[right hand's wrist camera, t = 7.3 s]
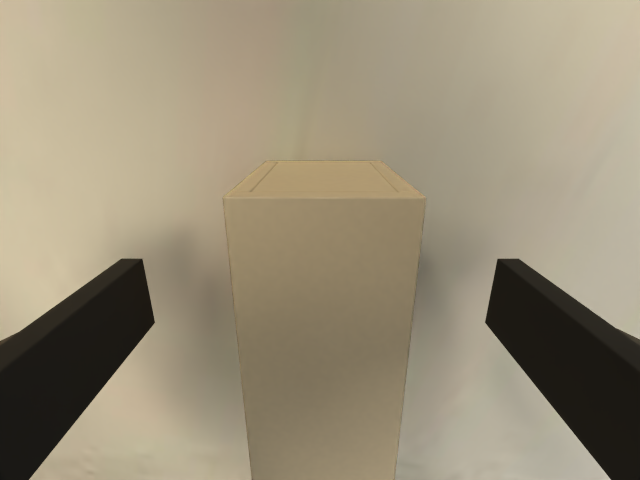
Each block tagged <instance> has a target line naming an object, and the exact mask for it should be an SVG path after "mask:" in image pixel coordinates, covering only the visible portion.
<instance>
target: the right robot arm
mask: <svg viewBox="0 0 640 480" xmlns="http://www.w3.org/2000/svg"><path fill="white" fill-rule="evenodd" d="M154 323H155V321H154V316H153V311H152V306H151V300H150V295H149V290H148V285H147V280H146V275H145V270H144V265H143V260H142V259H121V260H119V261H118V262H116V263H115V264H114V265H112V266H111V267H109V268H108V269H107V270H105V271H104V272H102V273H101V274H100V275H98V276H97V277H95V278H94V279H93V280H91V281H90V282H88V283H87V284H86V285H84V286H83V287H81V288H80V289H79V290H77V291H76V292H74V293H73V294H72V295H70V296H69V297H67V298H66V299H65V300H63V301H62V302H60V303H59V304H58V305H56V306H55V307H53V308H52V309H51V310H49V311H48V312H46V313H45V314H44V315H42V316H41V317H39V318H38V319H37V320H35V321H34V322H32V323H31V324H30V325H28V326H27V327H25V328H24V329H23V330H21V331H20V332H18V333H16V334H14V335H12V336H10V337H8V338H6V339H4V340H2V341H0V480H29V479H30V478H31V476H32V475H33V474H34V473H35V471H36V470H37V469H38V468H39V466H40V465H41V464H42V463H43V461H44V460H45V459H46V458H47V456H48V455H49V454H50V453H51V451H52V450H53V449H54V448H55V446H56V445H57V444H58V443H59V441H60V440H61V439H62V438H63V436H64V435H65V434H66V433H67V431H68V430H69V429H70V428H71V426H72V425H73V424H74V423H75V421H76V420H77V419H78V418H79V416H80V415H81V414H82V413H83V411H84V410H85V409H86V408H87V407H88V405H89V404H90V403H91V402H92V400H93V399H94V398H95V397H96V395H97V394H98V393H99V392H100V390H101V389H102V388H103V387H104V385H105V384H106V383H107V382H108V380H109V379H110V378H111V377H112V375H113V374H114V373H115V372H116V370H117V369H118V368H119V367H120V365H121V364H122V363H123V362H124V360H125V359H126V358H127V357H128V355H129V354H130V353H131V352H132V350H133V349H134V348H135V347H136V345H137V344H138V343H139V342H140V340H141V339H142V338H143V337H144V336H145V334H146V333H147V332H148V331H149V329H150V328H151V327H152V326H153V324H154ZM485 323H486V324H487V326H488V327H489V328H490V329H491V331H492V332H493V333H494V334H495V336H496V337H497V338H498V339H499V340H500V342H501V343H502V344H503V345H504V347H505V348H506V349H507V350H508V352H509V353H510V354H511V355H512V357H513V358H514V359H515V360H516V362H517V363H518V364H519V365H520V367H521V368H522V369H523V370H524V372H525V373H526V374H527V375H528V377H529V378H530V379H531V380H532V382H533V383H534V384H535V385H536V387H537V388H538V389H539V390H540V392H541V393H542V394H543V395H544V397H545V398H546V399H547V400H548V402H549V403H550V404H551V405H552V407H553V408H554V409H555V410H556V411H557V413H558V414H559V415H560V416H561V418H562V419H563V420H564V421H565V423H566V424H567V425H568V426H569V428H570V429H571V430H572V431H573V433H574V434H575V435H576V436H577V438H578V439H579V440H580V441H581V443H582V444H583V445H584V446H585V448H586V449H587V450H588V451H589V453H590V454H591V455H592V456H593V458H594V459H595V460H596V461H597V463H598V464H599V465H600V466H601V468H602V469H603V470H604V471H605V473H606V474H607V475H608V476H609V478H610V479H611V480H640V339H637V338H635V337H633V336H631V335H629V334H627V333H625V332H623V331H621V330H619V329H616V328H615V327H613V326H612V325H610V324H609V323H608V322H606V321H605V320H603V319H602V318H601V317H599V316H598V315H596V314H595V313H594V312H592V311H591V310H589V309H588V308H587V307H585V306H584V305H582V304H581V303H580V302H578V301H577V300H575V299H574V298H573V297H571V296H570V295H568V294H567V293H566V292H564V291H563V290H561V289H560V288H559V287H557V286H556V285H554V284H553V283H552V282H550V281H549V280H547V279H546V278H545V277H543V276H542V275H540V274H539V273H538V272H536V271H535V270H533V269H532V268H531V267H529V266H528V265H526V264H525V263H524V262H522V261H521V260H519V259H498V260H497V265H496V270H495V275H494V280H493V285H492V290H491V295H490V300H489V306H488V311H487V316H486V321H485Z"/></svg>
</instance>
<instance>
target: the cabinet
mask: <svg viewBox="0 0 640 480" xmlns="http://www.w3.org/2000/svg"><path fill="white" fill-rule="evenodd" d="M425 204H426V197H425V196H424V195H422V194H421V193H419V192H418V191H417V190H416V189H415V188H414V187H412V186H411V185H410V184H409V183H407V182H406V181H405V180H404V179H403V178H401V177H400V176H399V175H398V174H396V173H395V172H394V171H393V170H392V169H390V168H389V167H388V166H387V165H386V164H384V163H383V162H382V161H266V162H264V163H263V164H262V165H261V166H260V167H258V168H257V169H256V170H255V171H254V172H252V173H251V174H250V175H249V176H248V177H247V178H245V179H244V180H243V181H242V182H241V183H239V184H238V185H237V186H236V187H235V188H233V189H232V190H231V191H230V192H228V193H227V194H226V195H225V196H224V197H223V206H224V215H225V225H226V235H227V244H228V254H229V264H230V273H231V283H232V293H233V302H234V312H235V322H236V331H237V341H238V351H239V360H240V370H241V380H242V389H243V399H244V409H245V418H246V428H247V438H248V447H249V457H250V467H251V476H252V480H394V479H395V470H396V461H397V453H398V444H399V435H400V426H401V417H402V408H403V399H404V390H405V382H406V373H407V364H408V355H409V346H410V337H411V328H412V320H413V311H414V302H415V293H416V284H417V275H418V266H419V257H420V249H421V240H422V231H423V222H424V213H425Z"/></svg>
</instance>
